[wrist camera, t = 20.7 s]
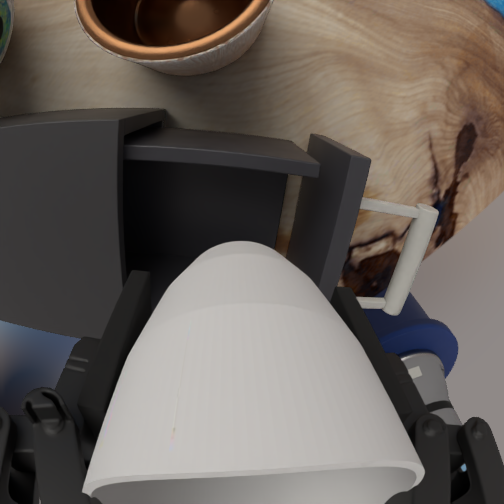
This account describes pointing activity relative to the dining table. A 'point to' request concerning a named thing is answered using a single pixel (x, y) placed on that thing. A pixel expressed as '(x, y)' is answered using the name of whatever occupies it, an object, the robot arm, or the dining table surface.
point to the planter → (174, 31)
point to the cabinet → (64, 216)
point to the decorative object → (5, 25)
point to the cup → (249, 397)
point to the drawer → (253, 205)
